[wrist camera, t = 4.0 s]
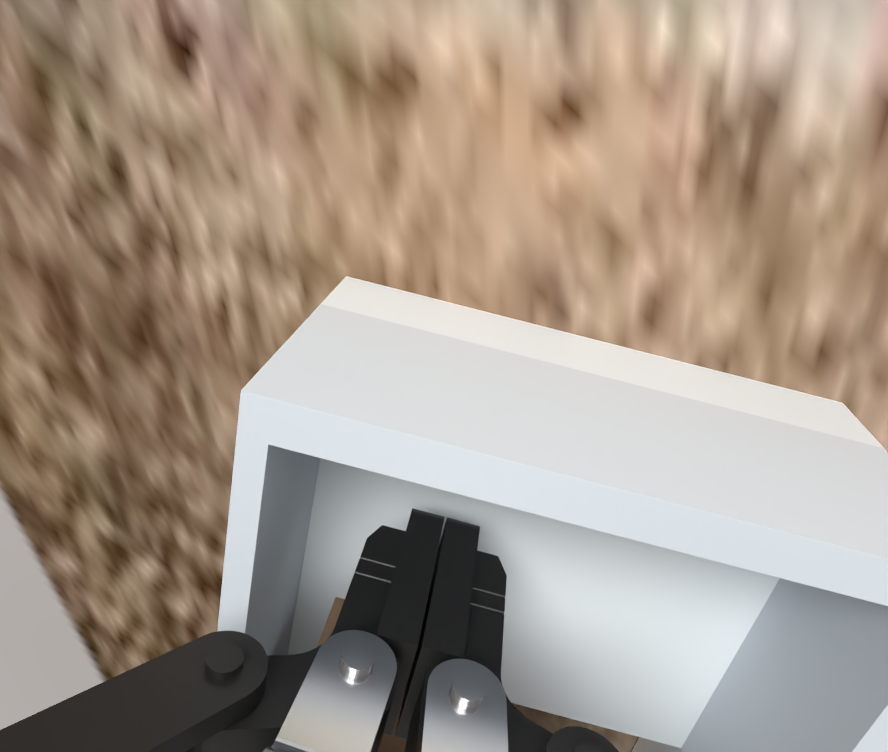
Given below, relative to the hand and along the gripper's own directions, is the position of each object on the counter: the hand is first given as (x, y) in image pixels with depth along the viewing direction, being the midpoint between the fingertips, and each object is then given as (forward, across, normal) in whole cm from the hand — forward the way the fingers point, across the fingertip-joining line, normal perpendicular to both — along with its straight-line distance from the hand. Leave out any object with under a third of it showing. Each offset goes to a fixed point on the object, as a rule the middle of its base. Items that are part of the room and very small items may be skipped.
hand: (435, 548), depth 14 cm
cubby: (+3, -2, +6) cm, 7 cm away
